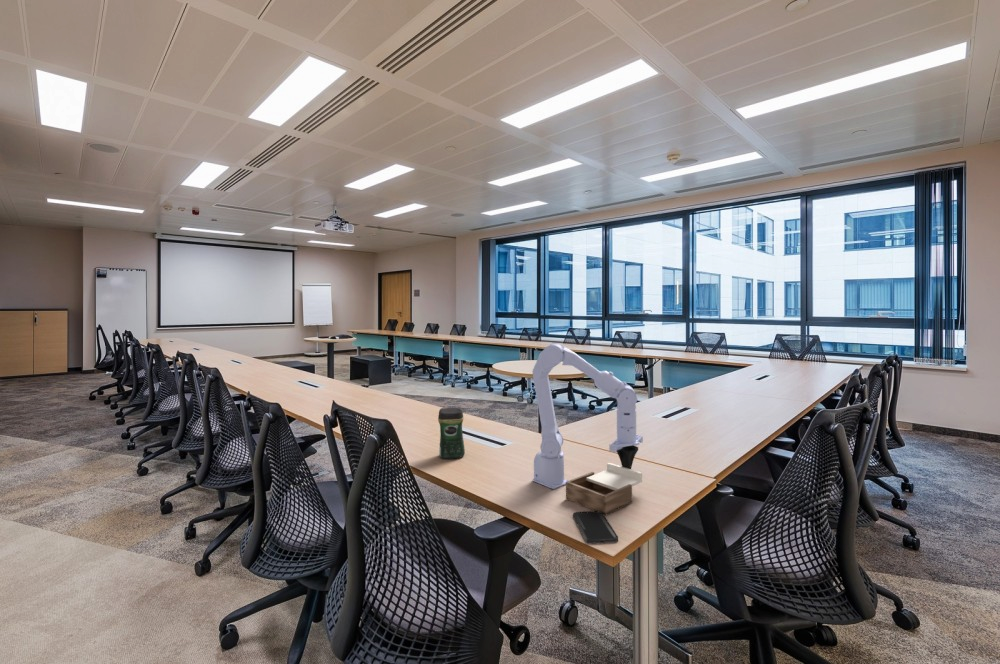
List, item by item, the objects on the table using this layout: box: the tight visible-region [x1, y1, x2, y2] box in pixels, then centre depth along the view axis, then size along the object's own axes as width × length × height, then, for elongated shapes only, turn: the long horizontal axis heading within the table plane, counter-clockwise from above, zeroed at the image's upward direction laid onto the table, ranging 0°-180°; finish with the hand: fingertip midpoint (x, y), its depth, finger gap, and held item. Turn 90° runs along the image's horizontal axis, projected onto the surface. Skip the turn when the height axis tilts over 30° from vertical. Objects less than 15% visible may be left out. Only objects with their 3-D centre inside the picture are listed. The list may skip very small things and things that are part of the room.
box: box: [565, 471, 633, 516], centre depth 127 cm, size 14×12×5 cm
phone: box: [572, 510, 619, 545], centre depth 111 cm, size 8×1×15 cm
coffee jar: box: [437, 406, 466, 460], centre depth 169 cm, size 10×8×19 cm
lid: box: [586, 462, 643, 490], centre depth 131 cm, size 12×11×3 cm
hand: (626, 469), depth 136 cm, fingers closed
